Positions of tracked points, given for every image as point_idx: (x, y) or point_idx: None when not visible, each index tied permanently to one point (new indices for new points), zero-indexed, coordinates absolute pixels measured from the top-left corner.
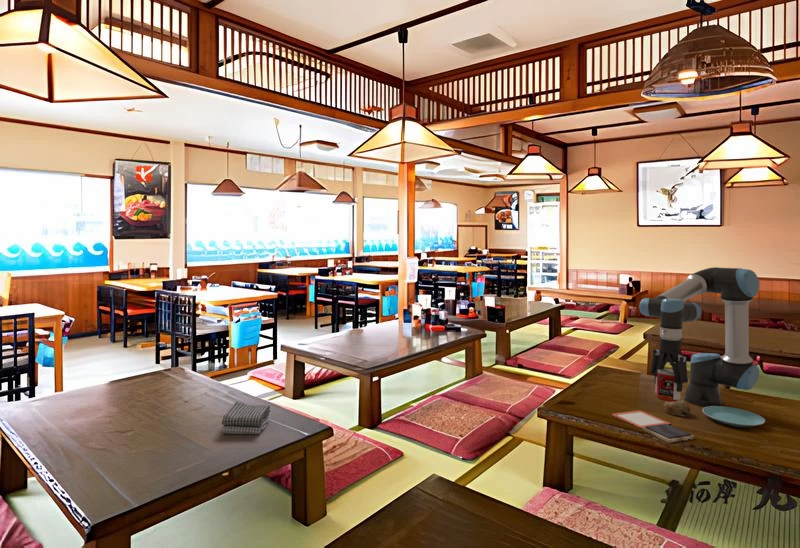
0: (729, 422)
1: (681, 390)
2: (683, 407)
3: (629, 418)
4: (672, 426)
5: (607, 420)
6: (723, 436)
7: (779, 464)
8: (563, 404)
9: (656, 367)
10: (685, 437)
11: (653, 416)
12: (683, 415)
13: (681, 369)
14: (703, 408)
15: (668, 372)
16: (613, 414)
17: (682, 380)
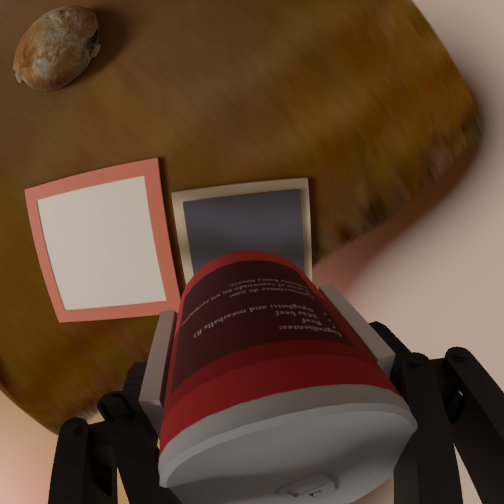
0: None
1: (384, 331)
2: (80, 33)
3: (94, 289)
4: (216, 202)
5: (107, 360)
6: (306, 56)
7: (464, 114)
8: (9, 381)
9: (95, 489)
10: (309, 225)
11: (80, 178)
12: (98, 46)
13: (492, 473)
14: None
15: (310, 483)
16: (63, 319)
17: (452, 402)
